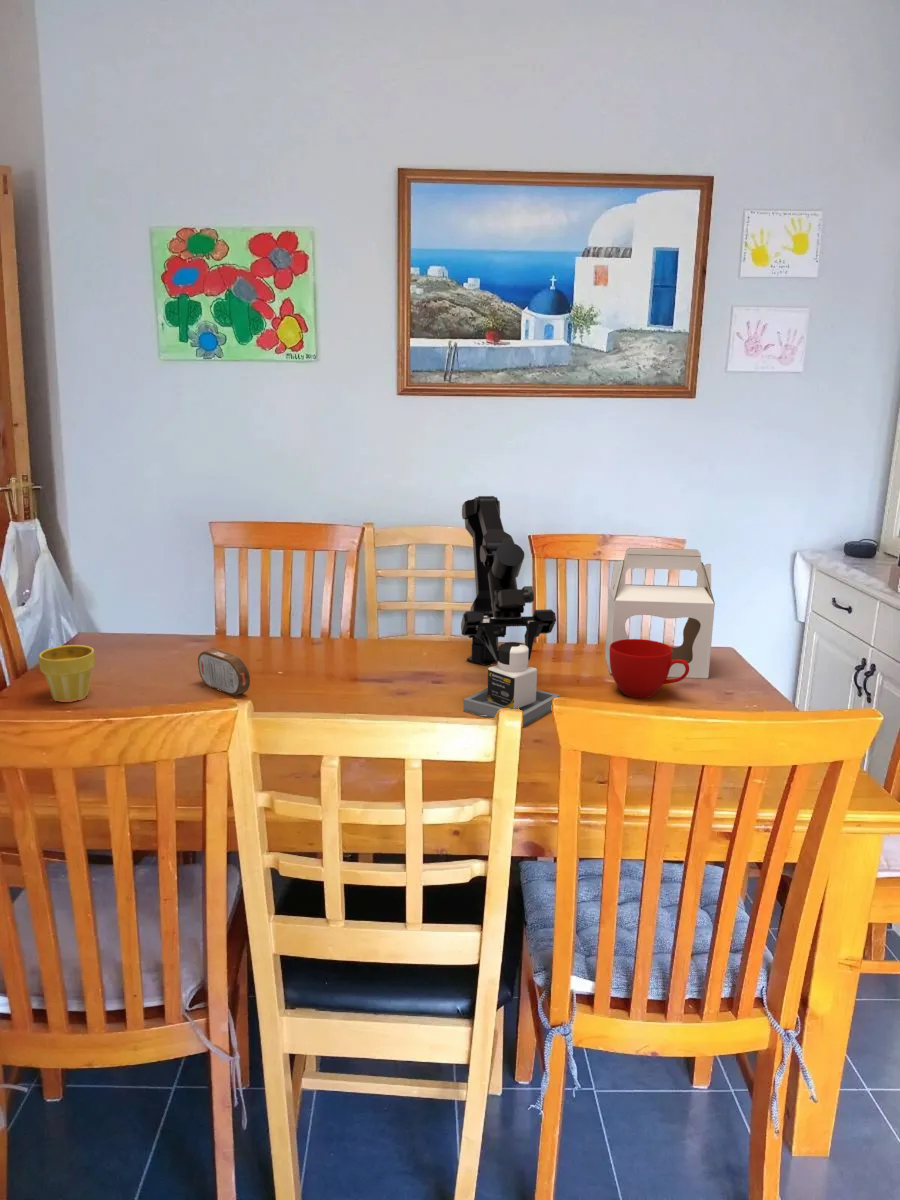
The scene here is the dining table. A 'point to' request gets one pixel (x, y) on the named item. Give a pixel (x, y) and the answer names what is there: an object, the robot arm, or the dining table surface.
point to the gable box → (665, 605)
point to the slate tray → (484, 707)
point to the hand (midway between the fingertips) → (513, 659)
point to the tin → (224, 671)
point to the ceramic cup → (642, 666)
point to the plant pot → (68, 670)
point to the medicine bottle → (512, 677)
